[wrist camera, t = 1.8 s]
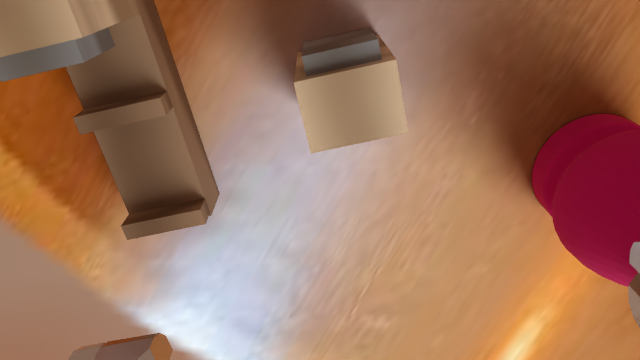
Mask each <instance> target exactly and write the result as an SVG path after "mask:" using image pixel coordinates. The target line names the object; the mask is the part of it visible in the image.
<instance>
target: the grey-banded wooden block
mask: <svg viewBox="0 0 640 360" xmlns="http://www.w3.org/2000/svg"><path fill="white" fill-rule="evenodd" d="M293 83H294V87H295V91H296V95H297V99H298V103H299V107H300V111H301V115H302V119H303V123H304V127H305V131H306V135H307V139H308V143H309V147H310V151H311V153H315V152H320V151H325V150H329V149H334V148H339V147H344V146H348V145H353V144H358V143H362V142H367V141H372V140H377V139H381V138H386V137H391V136H395V135H400V134H405V133H408V129H407V123H406V117H405V111H404V104H403V98H402V92H401V85H400V79H399V73H398V66H397V60H396V58H395V57H394V55H393V54H392V53H391V51H390V50H389V49H388V47H387V46H386V45H385V43H384V42H383V40H382V39H381V38H380V36H379V35H378V34H377V35H375V34H374V32H373V31H372V29H371V28H366V29H362V30H357V31H353V32H348V33H344V34H340V35H335V36H331V37H327V38H322V39H318V40H314V41H309V42H305V43H303V47H302V52H298V54H297V61H296V68H295V75H294V82H293Z"/></svg>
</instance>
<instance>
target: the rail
mask: <svg viewBox="0 0 640 360" xmlns="http://www.w3.org/2000/svg"><path fill="white" fill-rule="evenodd" d="M62 67H66V69H67V71H68V74H69V76H70V78H71V81H72V83H73V85H74V87H75V90H76V92H77V94H78V97H79V99H80V101H81V104H82V106H83V108H84V110H83V111H81V112H80V113H79V114H77V115H76V116H74V117H73V119H74V121H75V123H76V126H77V128H78V130H79V132H80V134H85V133H89V132H93V131H94V134H95V136H96V138H97V141H98V143H99V145H100V148H101V150H102V152H103V155H104V157H105V159H106V162H107V164H108V166H109V169H110V171H111V173H112V175H113V178H114V180H115V182H116V185H117V187H118V189H119V192H120V194H121V196H122V199H123V201H124V203H125V206H126V208H127V210H128V213H129V215H128V217H127V218H126V220H125V221H124V223H123V224H122V225H121V227H122V229H123V231H124V234H125V236H126V238H127V240H129V239H134V238H139V237H144V236H149V235H154V234H158V233H163V232H168V231H173V230H178V229H183V228H188V227H193V226H197V225H202V224H206V222H207V219H208V216H211V215H212V212H213V209H214V207H215V204H216V201H217V199H218V196H219V191H218V188H217V185H216V182H215V179H214V176H213V173H212V170H211V167H210V165H209V162H208V159H207V156H206V153H205V150H204V147H203V144H202V141H201V138H200V135H199V132H198V129H197V126H196V123H195V121H194V118H193V115H192V112H191V109H190V106H189V103H188V100H187V97H186V94H185V91H184V88H183V85H182V82H181V79H180V76H179V74H178V71H177V68H176V65H175V62H174V59H173V56H172V53H171V50H170V47H169V44H168V41H167V38H166V35H165V32H164V29H163V27H162V24H161V21H160V18H159V15H158V12H157V9H156V6H155V3H154V0H0V80H1V82H3V81H7V80H11V79H15V78H20V77H24V76H28V75H32V74H37V73H41V72H45V71H49V70H54V69H58V68H62Z"/></svg>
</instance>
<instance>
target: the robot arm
mask: <svg viewBox="0 0 640 360" xmlns="http://www.w3.org/2000/svg"><path fill="white" fill-rule="evenodd" d="M629 263H630V264H631V265H632V266H633V267H634V268H635V269H636V270H637V271H638V273H637V275H636V276H635V277H634V278H633V280H632V281H631V282H630V284H629V304H630V307H631V311H632V314H633V317H634V319H635V321H636V322H637V324H638V326H639V328H640V241H637V242H634V243H633V245H632V247H631V250H630V261H629ZM171 353H172V348H171V346H170V344H169V341H168V339H167V337H166V336H165V335H163V334H160V333H157V334H151V335H145V336H139V337H134V338H127V339H121V340H115V341H109V342H107V343H99V344H94V345H88V346H83V347H80V348H78V349H77V350H75V351H74V352H73V353H72V355H71V357H70V358H69V360H169V359H170V356H171Z"/></svg>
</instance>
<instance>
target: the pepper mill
mask: <svg viewBox="0 0 640 360" xmlns="http://www.w3.org/2000/svg"><path fill="white" fill-rule="evenodd" d="M532 186H533V190H534V193H535V196H536V197H537V199H538V201H539V202H540V204H541V205H542V206H543V207H544V208H545V209H546V210H547V212H548V213H549V214H550V215H551V216H552V217H553V223H554V227H555V230H556V232H557V234H558V236H559V239H560V241H561V242H562V244H563V245H564V246H565V248H566V249H567V250H568V251H569V252H570V253H571V254H572V255H573V256H575V257H576V258H577V259H578V260H579V261H580V262H581V263H582V264H583V265H584V266H586V267H587V268H589V269H591V270H592V271H594V272H596V273H597V274H599V275H601V276H603V277H605V278H607V279H609V280H611V281H614V282H616V283H618V284H621V285H624V286H627V287H629V284H630V282H631V281H632V280H633V278H634V277H635V276H636V275H637V273H638V271H637V270H636V269H635V268H634V267H633V266H632V265H631V264H630V263H629V261H630V250H631V247H632V245H633V243H634V242H637V241H640V126H639V125H638V124H636V123H634V122H632V121H630V120H628V119H626V118H624V117H621V116H617V115H612V114H594V115H589V116H585V117H582V118H579V119H576V120H574V121H572V122H570V123H568V124H567V125H565V126H563V127H562V128H560V129H559V130H558V131H557V132H555V133H554V134H553V135H552V136H551V137H550V138H549V139H548V140H547V142H546V143H545V144H544V145H543V147H542V148H541V150H540V151H539V153H538V155H537V158H536V160H535V163H534V166H533V172H532Z"/></svg>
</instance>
